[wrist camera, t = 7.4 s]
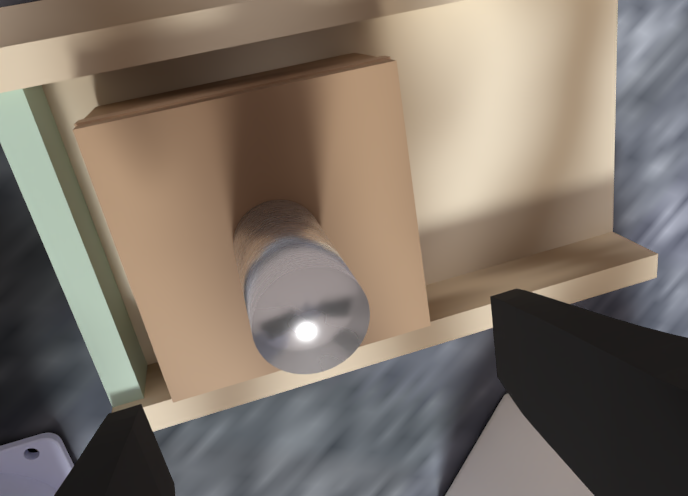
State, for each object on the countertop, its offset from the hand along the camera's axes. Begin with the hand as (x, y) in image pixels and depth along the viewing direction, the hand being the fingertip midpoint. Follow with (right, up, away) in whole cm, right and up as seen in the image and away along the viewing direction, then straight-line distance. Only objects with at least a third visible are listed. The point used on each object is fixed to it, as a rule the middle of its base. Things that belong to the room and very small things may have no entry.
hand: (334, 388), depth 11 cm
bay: (+1, +6, +9) cm, 11 cm away
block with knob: (-3, +4, +8) cm, 9 cm away
